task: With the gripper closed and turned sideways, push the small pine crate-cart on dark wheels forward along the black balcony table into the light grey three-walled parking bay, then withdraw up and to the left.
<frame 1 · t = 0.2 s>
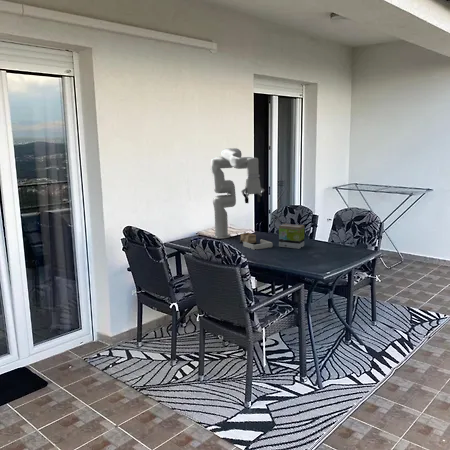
hand: (253, 202, 310), 31 cm above the table, tool pointing down, fingers open, 9 cm apart
cart: (248, 243, 330), on the table
tea box: (291, 246, 317), on the table
bay: (257, 246, 319), on the table
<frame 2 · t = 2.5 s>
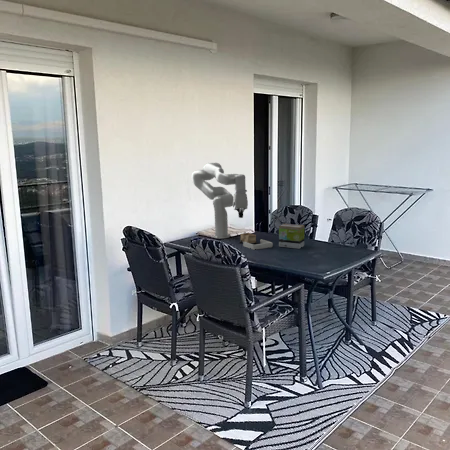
hand: (240, 217, 335), 17 cm above the table, tool pointing down, fingers closed
nothing on the table moved.
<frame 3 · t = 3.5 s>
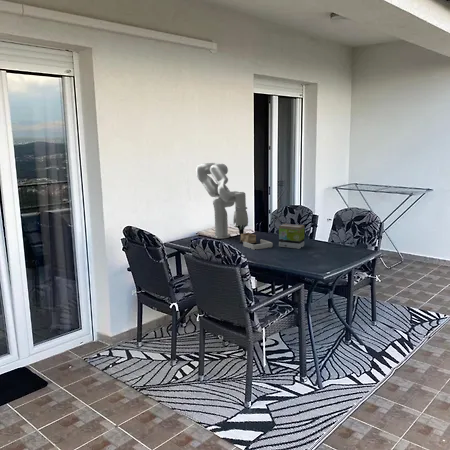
hand: (241, 234, 337), 5 cm above the table, tool pointing down, fingers closed
nothing on the table moved.
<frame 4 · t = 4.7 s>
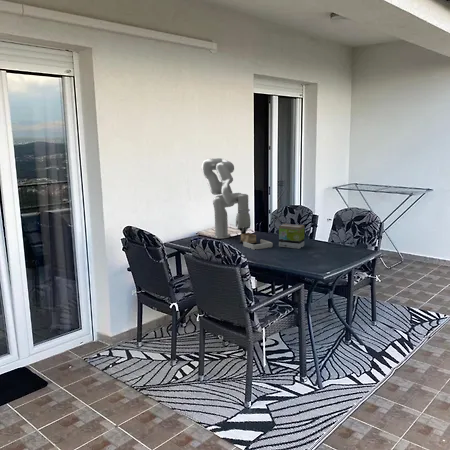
hand: (243, 236, 335), 4 cm above the table, tool pointing down, fingers closed
cart: (248, 243, 329), on the table, touching gripper
everything else where it was.
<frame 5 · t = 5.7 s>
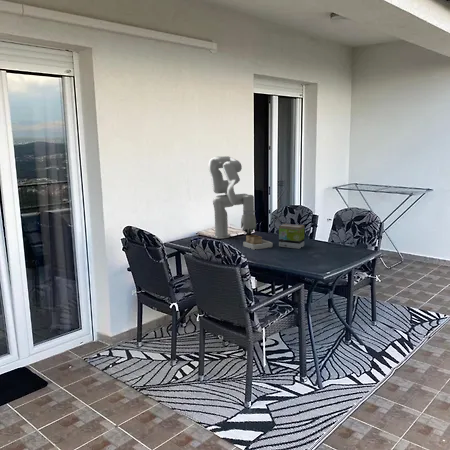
hand: (248, 238, 328), 4 cm above the table, tool pointing down, fingers closed
cart: (253, 245, 323), on the table, touching gripper
everything else where it was.
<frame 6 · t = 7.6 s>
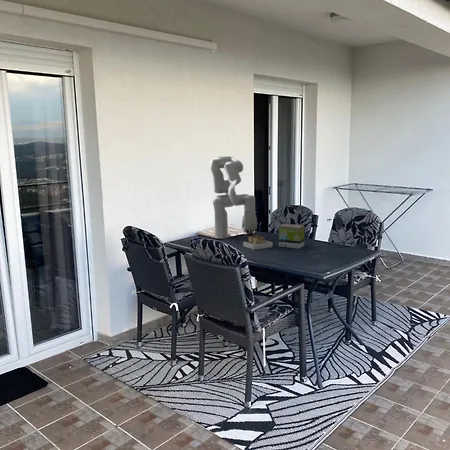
hand: (249, 239, 327), 3 cm above the table, tool pointing down, fingers closed
cart: (256, 246, 320), on the table
everything else where it was.
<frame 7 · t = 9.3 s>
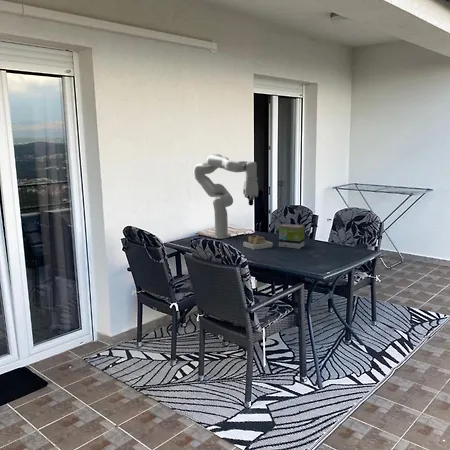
hand: (250, 205, 334), 26 cm above the table, tool pointing down, fingers closed
nothing on the table moved.
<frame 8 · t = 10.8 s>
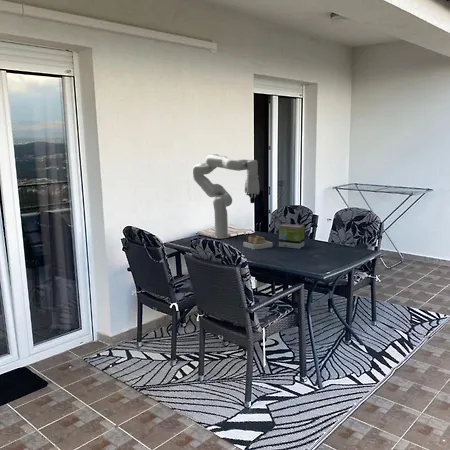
hand: (252, 202, 336), 27 cm above the table, tool pointing down, fingers closed
nothing on the table moved.
at the end: cart inside the target area on the bay (1.4 cm from its centre), point 0.0 cm above the bay's base; cart tilted 0° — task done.
